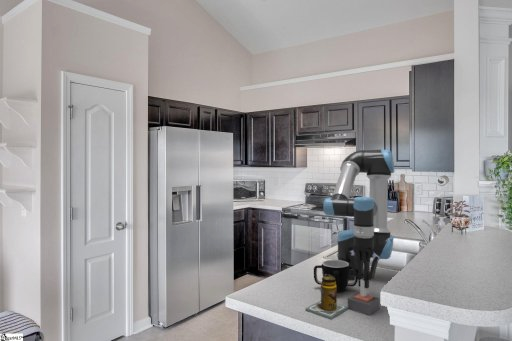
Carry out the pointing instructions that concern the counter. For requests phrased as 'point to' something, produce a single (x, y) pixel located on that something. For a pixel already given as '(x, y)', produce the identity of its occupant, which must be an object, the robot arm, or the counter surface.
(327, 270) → the mug
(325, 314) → the slate board
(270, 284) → the counter surface
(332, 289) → the condiment
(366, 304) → the button housing
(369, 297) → the button
